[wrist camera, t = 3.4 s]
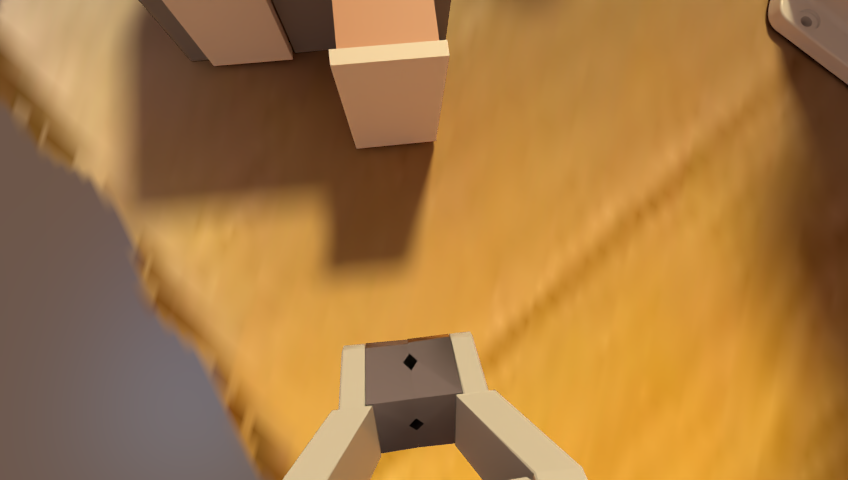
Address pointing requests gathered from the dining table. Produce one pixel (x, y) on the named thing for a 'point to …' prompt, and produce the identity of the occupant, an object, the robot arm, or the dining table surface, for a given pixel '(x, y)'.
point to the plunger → (389, 70)
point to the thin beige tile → (234, 29)
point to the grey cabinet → (301, 17)
